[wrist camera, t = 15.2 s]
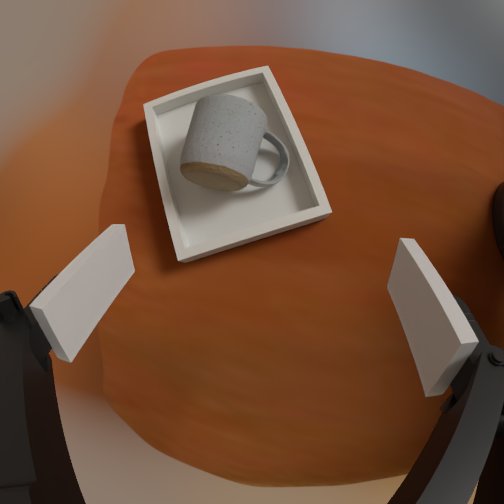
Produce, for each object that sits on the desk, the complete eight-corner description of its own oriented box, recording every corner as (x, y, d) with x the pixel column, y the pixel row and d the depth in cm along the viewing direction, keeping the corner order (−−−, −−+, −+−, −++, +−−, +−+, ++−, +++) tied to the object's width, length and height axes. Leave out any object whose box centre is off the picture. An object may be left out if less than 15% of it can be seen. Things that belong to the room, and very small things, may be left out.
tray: (267, 79, 33) (267, 65, 30) (325, 218, 31) (332, 212, 28) (151, 116, 34) (143, 104, 31) (185, 262, 31) (177, 260, 28)
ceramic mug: (185, 189, 31) (164, 162, 23) (203, 125, 32) (189, 87, 24) (281, 205, 31) (288, 181, 23) (293, 138, 31) (301, 101, 24)
